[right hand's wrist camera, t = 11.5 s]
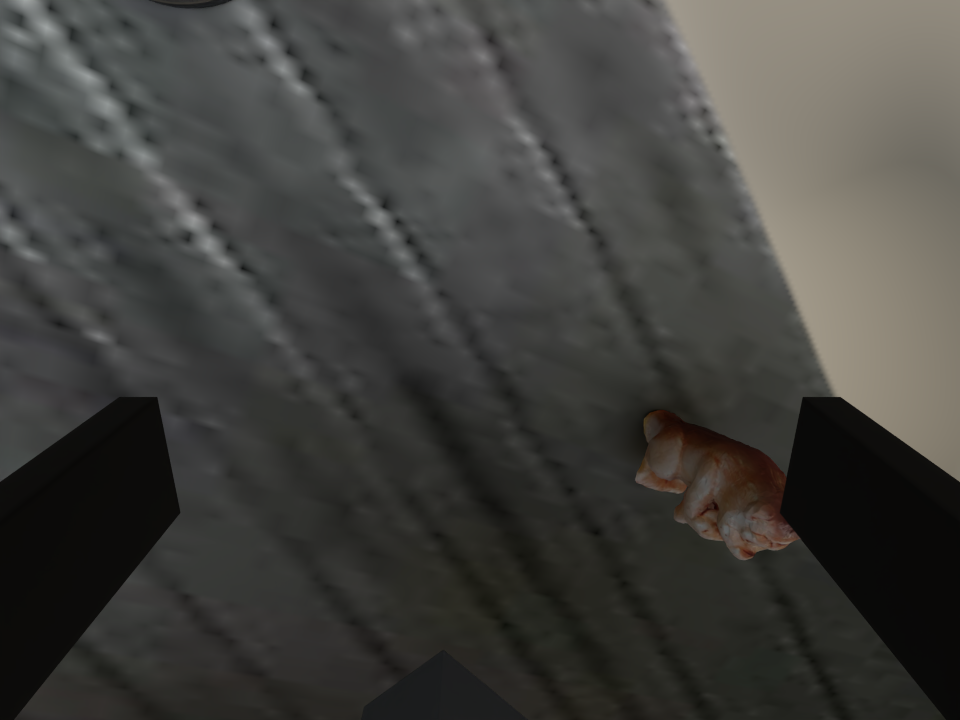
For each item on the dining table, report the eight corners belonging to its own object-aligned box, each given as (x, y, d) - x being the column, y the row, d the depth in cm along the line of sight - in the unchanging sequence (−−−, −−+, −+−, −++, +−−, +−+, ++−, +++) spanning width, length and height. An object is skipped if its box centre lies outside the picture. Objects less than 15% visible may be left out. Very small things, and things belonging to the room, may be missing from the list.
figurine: (616, 458, 47) (674, 594, 33) (656, 373, 45) (737, 480, 31) (688, 480, 48) (775, 621, 34) (731, 396, 45) (844, 512, 31)
